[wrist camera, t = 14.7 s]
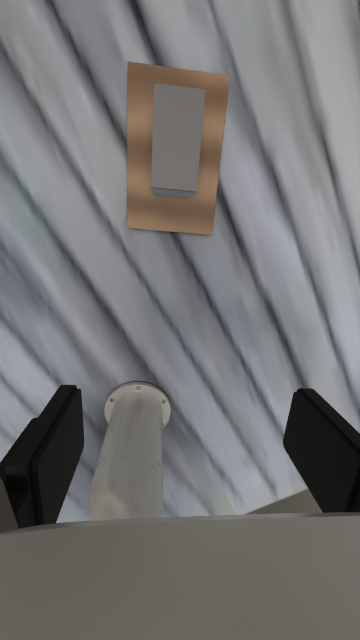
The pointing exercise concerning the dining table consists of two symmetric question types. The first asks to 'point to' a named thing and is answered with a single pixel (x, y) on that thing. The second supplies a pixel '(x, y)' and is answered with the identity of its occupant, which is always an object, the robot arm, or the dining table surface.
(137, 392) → the robot arm
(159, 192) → the block
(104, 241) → the dining table surface
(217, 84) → the stand
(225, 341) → the dining table surface
